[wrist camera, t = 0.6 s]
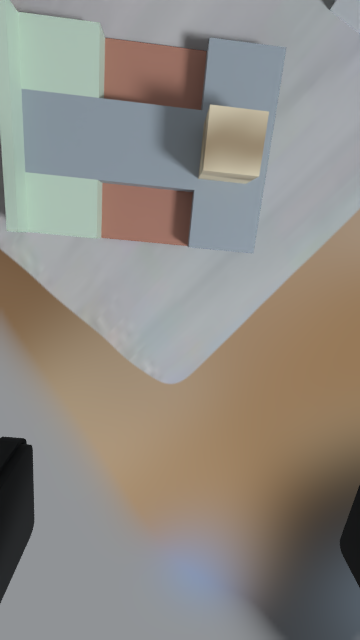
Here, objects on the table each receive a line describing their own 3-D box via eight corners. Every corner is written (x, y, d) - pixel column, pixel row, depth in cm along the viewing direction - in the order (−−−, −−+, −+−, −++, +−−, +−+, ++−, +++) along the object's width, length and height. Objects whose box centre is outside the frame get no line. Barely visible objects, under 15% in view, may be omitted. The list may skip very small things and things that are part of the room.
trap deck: (19, 29, 27) (-10, -9, 23) (276, 62, 28) (295, 33, 24) (29, 230, 32) (6, 231, 28) (247, 251, 33) (258, 255, 29)
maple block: (203, 123, 27) (210, 104, 23) (253, 129, 27) (269, 111, 23) (198, 178, 29) (203, 170, 24) (245, 183, 29) (259, 176, 24)
